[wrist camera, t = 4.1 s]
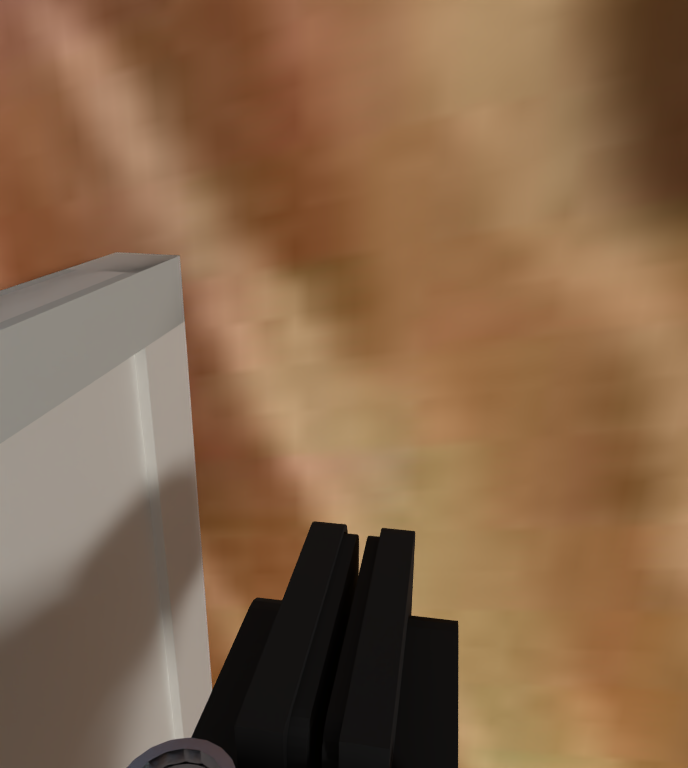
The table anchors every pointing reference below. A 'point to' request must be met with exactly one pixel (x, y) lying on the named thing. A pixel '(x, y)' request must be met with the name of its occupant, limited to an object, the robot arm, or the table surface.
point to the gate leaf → (98, 518)
